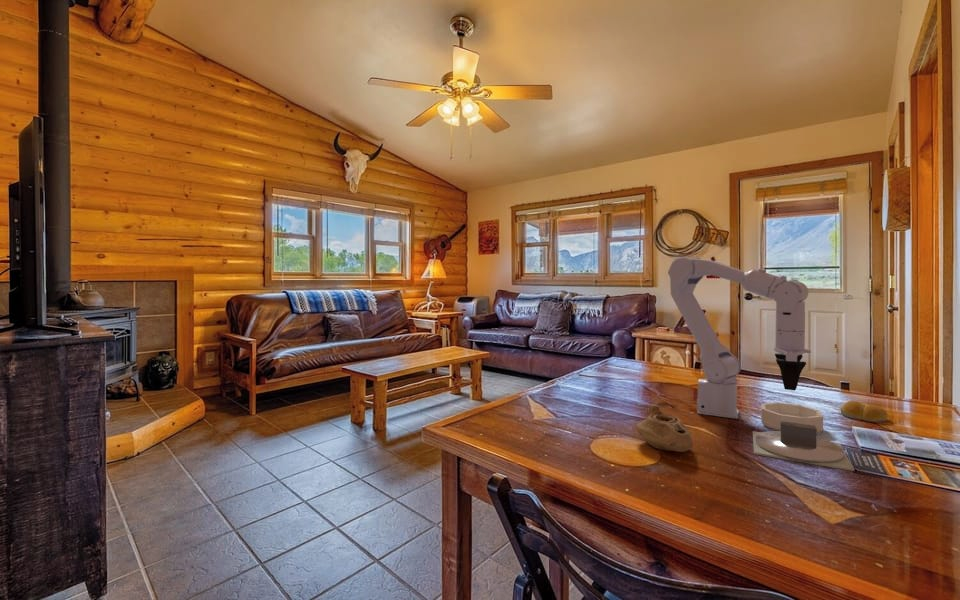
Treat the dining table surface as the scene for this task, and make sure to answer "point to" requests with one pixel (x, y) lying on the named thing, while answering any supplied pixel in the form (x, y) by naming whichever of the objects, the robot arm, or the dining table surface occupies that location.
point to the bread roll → (864, 412)
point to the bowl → (790, 415)
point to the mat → (841, 464)
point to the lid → (799, 444)
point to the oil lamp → (664, 431)
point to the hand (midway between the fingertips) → (789, 386)
